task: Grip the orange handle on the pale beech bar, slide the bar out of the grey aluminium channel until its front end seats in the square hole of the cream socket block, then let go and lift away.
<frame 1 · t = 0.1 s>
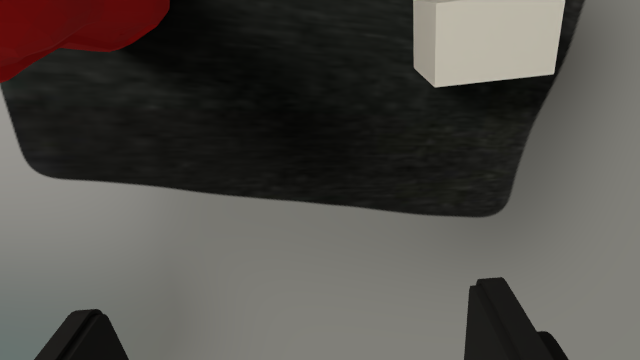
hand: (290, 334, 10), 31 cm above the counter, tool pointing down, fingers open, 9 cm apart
socket block: (462, 29, 36), on the counter
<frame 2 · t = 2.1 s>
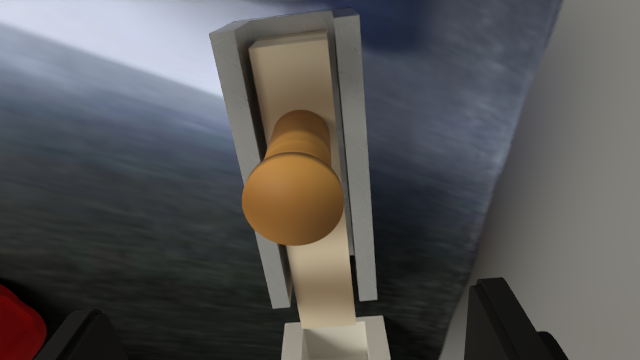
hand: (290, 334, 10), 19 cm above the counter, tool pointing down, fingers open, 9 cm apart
socket block: (336, 342, 37), on the counter
slip bar: (311, 227, 22), point 7 cm above the counter, slide at 0.0 cm
channel sleeve: (310, 149, 28), on the counter
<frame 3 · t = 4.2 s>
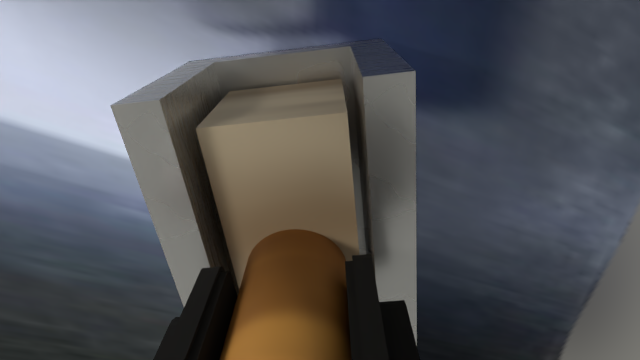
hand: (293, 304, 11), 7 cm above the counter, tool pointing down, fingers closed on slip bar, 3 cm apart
channel sleeve: (313, 247, 18), on the counter
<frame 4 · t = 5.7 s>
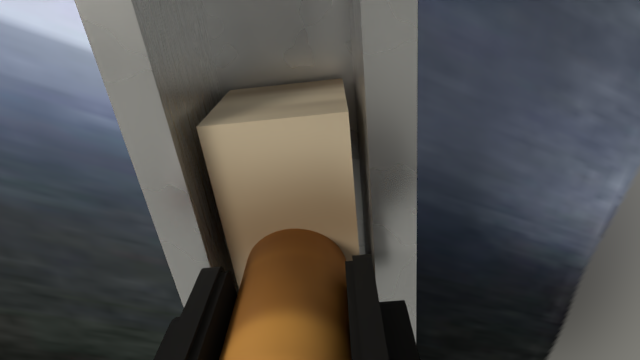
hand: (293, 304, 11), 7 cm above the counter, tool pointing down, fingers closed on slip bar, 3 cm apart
channel sleeve: (301, 163, 16), on the counter
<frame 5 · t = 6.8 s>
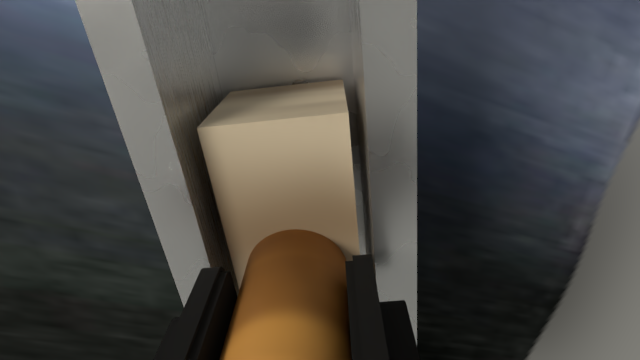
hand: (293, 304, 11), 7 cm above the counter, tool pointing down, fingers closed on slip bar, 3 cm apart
channel sleeve: (284, 47, 14), on the counter
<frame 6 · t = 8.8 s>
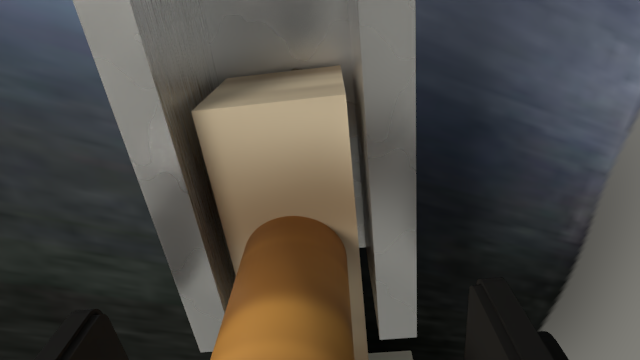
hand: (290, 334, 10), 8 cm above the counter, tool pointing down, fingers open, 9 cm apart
channel sleeve: (282, 36, 14), on the counter
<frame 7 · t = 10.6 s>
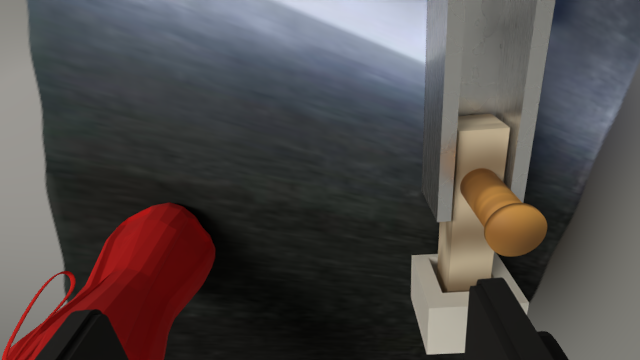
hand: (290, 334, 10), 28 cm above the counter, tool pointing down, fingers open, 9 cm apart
socket block: (451, 274, 44), on the counter
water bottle: (167, 231, 42), on the counter
slip bar: (480, 244, 34), point 7 cm above the counter, slide at 9.0 cm
channel sleeve: (464, 100, 35), on the counter
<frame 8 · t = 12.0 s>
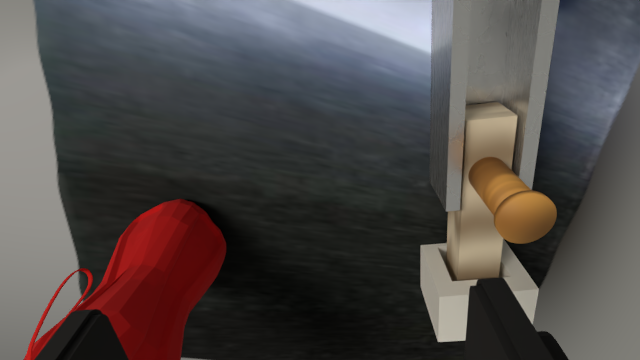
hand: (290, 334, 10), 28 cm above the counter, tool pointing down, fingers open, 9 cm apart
socket block: (460, 263, 44), on the counter
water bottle: (178, 227, 43), on the counter
slip bar: (489, 233, 34), point 7 cm above the counter, slide at 9.0 cm
channel sleeve: (470, 89, 35), on the counter
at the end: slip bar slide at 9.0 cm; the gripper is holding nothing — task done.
